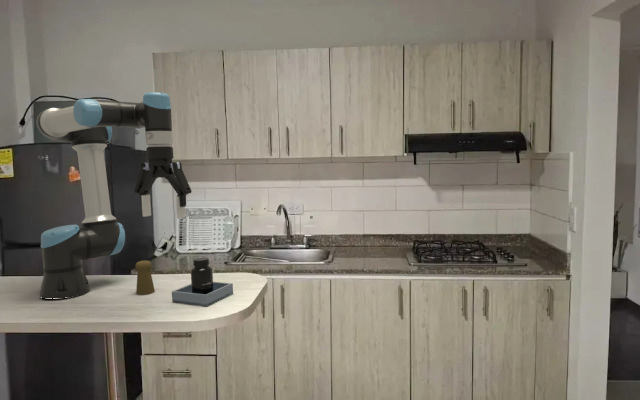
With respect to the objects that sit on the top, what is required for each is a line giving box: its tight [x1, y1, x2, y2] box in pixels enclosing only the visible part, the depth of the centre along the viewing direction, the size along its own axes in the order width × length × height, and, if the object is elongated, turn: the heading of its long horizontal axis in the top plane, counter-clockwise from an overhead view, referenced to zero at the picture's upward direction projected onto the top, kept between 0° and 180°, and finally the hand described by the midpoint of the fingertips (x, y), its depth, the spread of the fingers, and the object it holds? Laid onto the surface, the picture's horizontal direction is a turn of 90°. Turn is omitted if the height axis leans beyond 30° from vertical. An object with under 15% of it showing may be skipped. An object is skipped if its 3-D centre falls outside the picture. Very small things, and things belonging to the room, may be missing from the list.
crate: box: [171, 281, 234, 308], centre depth 145 cm, size 14×14×4 cm
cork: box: [135, 260, 156, 296], centre depth 154 cm, size 6×6×11 cm
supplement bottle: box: [190, 257, 214, 294], centre depth 144 cm, size 7×7×12 cm
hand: (163, 217), depth 135 cm, fingers open, 13 cm apart
